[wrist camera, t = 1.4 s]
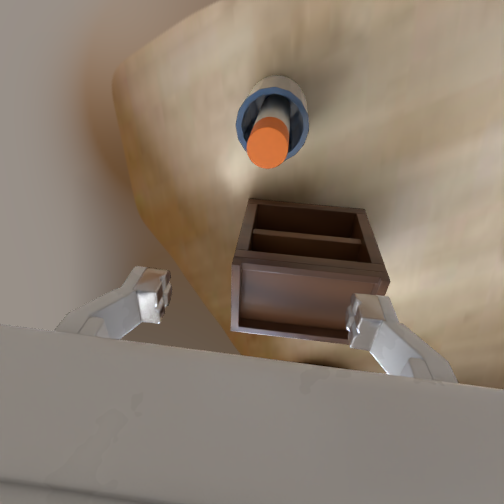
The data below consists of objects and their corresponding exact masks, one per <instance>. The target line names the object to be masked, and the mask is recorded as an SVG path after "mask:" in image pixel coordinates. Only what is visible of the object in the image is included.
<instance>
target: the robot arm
mask: <svg viewBox="0 0 504 504" xmlns="http://www.w3.org/2000/svg"><path fill="white" fill-rule="evenodd" d="M170 278H171V273H170V271H169V270H163V269H157V268H150V267H142V266H136V267H134V269H133V270H132V272H131V273H130V275H129V276H128V278H127V279H126V281H125V282H124V284H123V285H122V287H121V288H116V289H115V290H112V291H111V292H108V293H106V294H104V295H102V296H100V297H99V298H96V299H94V300H93V301H91V302H89V303H87V304H85V305H83V306H81V307H79V308H77V309H75V310H73V311H71V312H69V313H68V314H67V315H66V316H65V317H64V319H63V320H62V321H61V323H60V324H59V325H58V326H57V328H56V329H55V330H54V331H49V330H42V329H33V328H26V327H19V326H11V325H3V324H0V504H504V389H497V388H489V387H481V386H473V385H466V384H459V383H458V381H457V379H456V377H455V375H454V373H453V371H452V368H451V366H450V364H449V362H448V361H447V360H446V359H445V358H443V357H442V356H441V355H440V354H439V353H437V352H436V351H435V350H434V349H433V348H431V347H430V346H429V345H428V344H427V343H425V342H424V341H423V340H422V339H421V338H419V337H418V336H417V335H416V334H415V333H413V332H412V331H411V330H410V329H409V328H407V327H406V326H405V325H404V324H402V323H399V321H398V318H397V316H396V313H395V310H394V308H393V305H392V303H391V300H390V298H389V297H388V296H380V295H369V294H360V293H353V294H352V295H351V298H350V302H351V305H350V306H348V307H347V310H346V315H345V324H346V328H347V329H348V330H349V333H348V340H349V345H350V348H354V349H361V350H367V351H370V353H371V354H372V355H373V357H374V358H375V359H376V360H377V361H378V363H379V364H380V365H381V366H382V368H383V369H384V370H385V371H386V373H387V374H381V373H373V372H365V371H357V370H349V369H342V368H334V367H327V366H319V365H311V364H304V363H296V362H288V361H281V360H273V359H265V358H257V357H250V356H242V355H233V354H226V353H218V352H210V351H202V350H195V349H188V348H180V347H172V346H165V345H157V344H149V343H141V342H133V341H126V340H119V339H121V338H122V337H123V336H124V335H125V334H127V333H128V332H130V331H131V330H132V329H134V328H135V327H136V326H137V325H139V324H140V323H141V322H149V323H159V324H160V323H161V321H162V318H163V316H164V314H165V307H167V306H168V305H169V302H170V300H171V295H172V286H171V284H170V283H169V281H170Z"/></svg>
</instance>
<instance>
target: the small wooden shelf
mask: <svg viewBox="0 0 504 504" xmlns="http://www.w3.org/2000/svg"><path fill="white" fill-rule="evenodd" d="M389 283H390V279H389V276H388V273H387V271H386V268H385V265H384V262H383V259H382V256H381V254H380V251H379V248H378V245H377V242H376V240H375V237H374V234H373V231H372V229H371V226H370V223H369V220H368V217H367V215H366V212H365V209H356V208H345V207H334V206H323V205H313V204H302V203H291V202H280V201H270V200H259V199H249V200H248V205H247V208H246V212H245V216H244V220H243V224H242V228H241V231H240V235H239V239H238V243H237V247H236V250H235V254H234V258H233V262H232V285H231V331H237V332H246V333H255V334H263V335H271V336H280V337H288V338H297V339H305V340H314V341H322V342H330V343H339V344H347V345H349V340H348V333H349V330H348V329H347V328H346V324H345V315H346V310H347V307H348V306H350V305H351V302H350V298H351V295H352V294H353V293H360V294H369V295H380V296H385V293H386V291H387V288H388V286H389Z"/></svg>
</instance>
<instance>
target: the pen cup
mask: <svg viewBox="0 0 504 504" xmlns="http://www.w3.org/2000/svg"><path fill="white" fill-rule="evenodd" d="M275 94H277V95H281V96H283V97H285V98H286V99H287V100H288V102H289V104H290V108H291V112H290V129H289V146H288V154H287V156H286V158H285V160H287V159H289V158H290V157H292V156H294V155H295V154H296V153H297V152H298V151H299V150H300V149H301V147H302V146H303V145H304V143H305V140H306V137H307V134H308V131H309V121H308V110H307V102H306V98H305V95H304V93H303V91H302V89H301V88H300V86H299V85H298V84H297V83H296V82H295V81H293V80H292V79H290V78H288V77H285V76H281V75H274V76H269V77H266V78H264V79H262V80H260V81H259V82H258V83H257V84H255V85H254V87H253V88H252V90H251V91H250V93H249V94H248V96H247V98H246V99H245V101H244V102H243V104H242V105H241V107H240V109H239V111H238V115H237V120H236V130H237V135H238V139H239V141H240V143H241V145H242V146H243V148H244V150H245V151H246V152H247V142H248V139H249V136H250V134H251V131H252V129H253V126H254V124H255V121H256V119H257V116H258V114H259V111H260V109H261V106H262V104H263V102H264V100H265V99H266V98H267V97H269V96H271V95H275ZM285 160H284V161H285Z"/></svg>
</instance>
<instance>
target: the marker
mask: <svg viewBox="0 0 504 504" xmlns="http://www.w3.org/2000/svg"><path fill="white" fill-rule="evenodd" d="M290 112H291V108H290V104H289V102H288V100H287V99H286V98H285V97H283V96H281V95H277V94H275V95H271V96H269V97H267V98H266V99H265V100H264V102H263V104H262V106H261V109H260V111H259V114H258V116H257V119H256V121H255V124H254V126H253V129H252V131H251V134H250V136H249V139H248V142H247V153H248V156H249V158H250V160H251V161H252V162H253V163H254V164H255V165H257V166H259V167H261V168H266V169H269V168H274V167H277V166H278V165H280V164H281V163H282V162H283V161H284V160H285V158H286V156H287V154H288V146H289V129H290Z"/></svg>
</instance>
